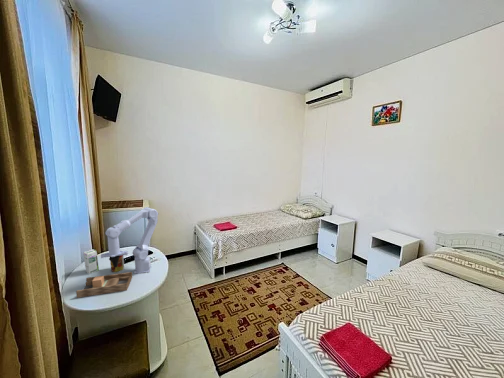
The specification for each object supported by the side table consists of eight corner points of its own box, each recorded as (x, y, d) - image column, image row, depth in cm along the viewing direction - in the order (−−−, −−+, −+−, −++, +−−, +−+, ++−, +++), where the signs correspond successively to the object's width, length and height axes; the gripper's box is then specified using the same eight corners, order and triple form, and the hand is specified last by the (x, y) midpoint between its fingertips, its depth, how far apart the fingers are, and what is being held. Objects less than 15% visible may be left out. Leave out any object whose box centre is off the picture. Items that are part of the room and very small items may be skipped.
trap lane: (132, 277, 142) (131, 271, 141) (127, 290, 129) (126, 284, 128) (87, 283, 135) (86, 277, 134) (77, 297, 121) (76, 291, 121)
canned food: (110, 268, 152) (108, 252, 150) (123, 265, 157) (121, 249, 155) (112, 273, 146) (110, 257, 144) (125, 269, 151) (124, 253, 149)
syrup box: (89, 274, 145) (87, 254, 143) (85, 271, 148) (83, 251, 146) (99, 270, 150) (96, 250, 147) (95, 268, 153) (92, 248, 150)
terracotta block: (104, 282, 133) (103, 275, 132) (101, 286, 129) (101, 279, 128) (96, 283, 132) (95, 276, 131) (93, 287, 127) (92, 280, 127)
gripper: (98, 250, 129) (100, 271, 131) (125, 247, 133) (127, 268, 135) (102, 245, 136) (104, 266, 138) (128, 243, 140) (129, 262, 142)
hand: (115, 266), depth 137 cm, fingers closed
